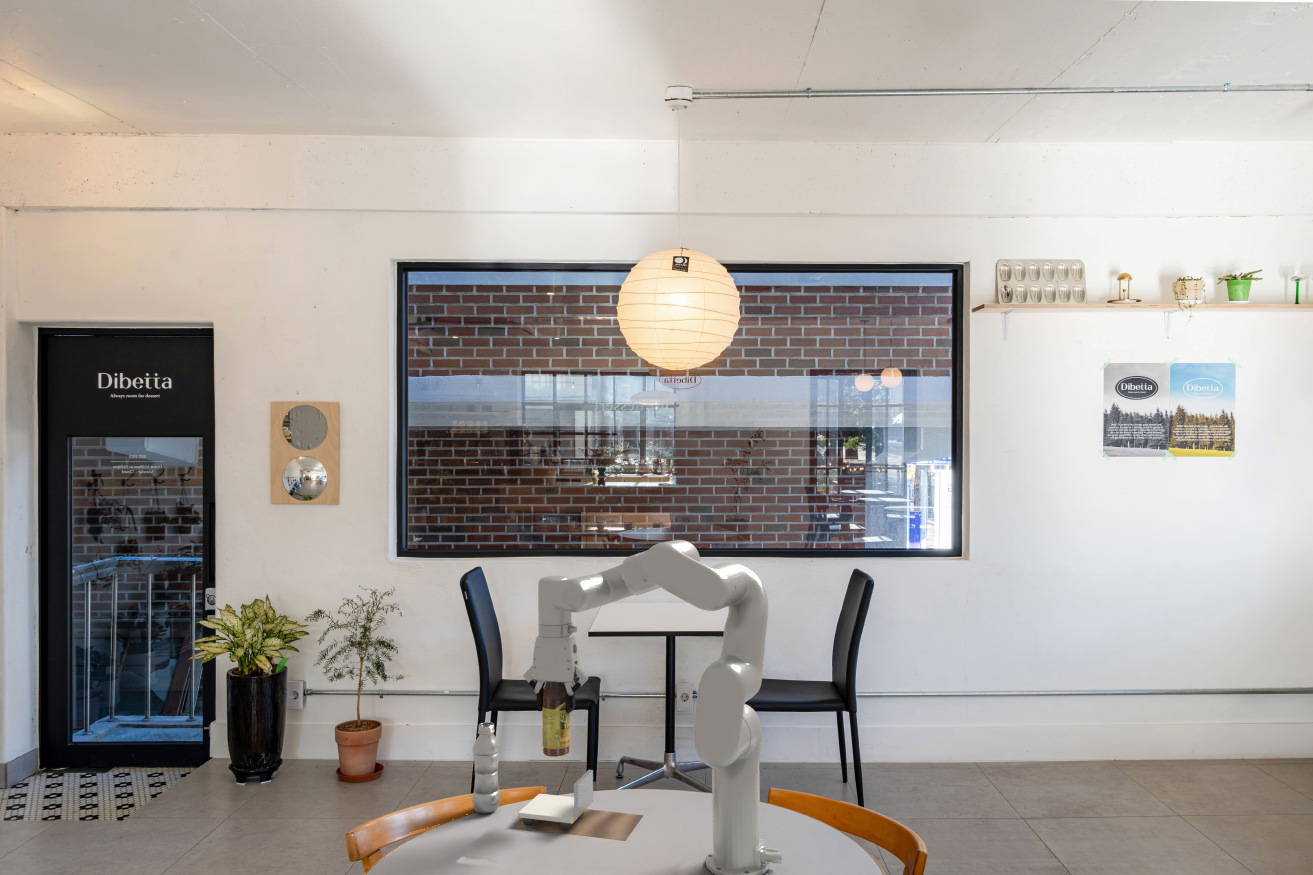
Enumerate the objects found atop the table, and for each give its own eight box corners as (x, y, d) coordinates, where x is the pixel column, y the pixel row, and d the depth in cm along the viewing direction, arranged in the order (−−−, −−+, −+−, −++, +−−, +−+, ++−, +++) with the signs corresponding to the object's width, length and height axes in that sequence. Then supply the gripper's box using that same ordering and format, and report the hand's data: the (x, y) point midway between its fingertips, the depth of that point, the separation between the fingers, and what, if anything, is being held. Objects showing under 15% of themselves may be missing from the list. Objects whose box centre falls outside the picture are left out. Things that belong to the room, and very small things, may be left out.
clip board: (643, 819, 180) (643, 815, 180) (625, 845, 167) (625, 840, 167) (539, 807, 187) (539, 803, 187) (514, 831, 175) (514, 826, 175)
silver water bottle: (466, 815, 184) (466, 727, 185) (481, 803, 190) (481, 719, 191) (491, 818, 182) (491, 730, 183) (505, 806, 188) (505, 721, 189)
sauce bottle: (565, 758, 175) (564, 668, 176) (538, 757, 176) (537, 667, 177) (574, 748, 182) (573, 661, 183) (548, 747, 183) (547, 660, 184)
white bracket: (594, 811, 182) (594, 768, 183) (576, 831, 171) (576, 786, 172) (539, 804, 186) (539, 763, 186) (518, 824, 175) (518, 780, 176)
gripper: (596, 628, 182) (597, 708, 181) (527, 626, 186) (528, 703, 185) (584, 635, 175) (585, 717, 174) (513, 632, 179) (514, 712, 178)
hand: (556, 709), depth 180 cm, fingers closed on sauce bottle, 6 cm apart
